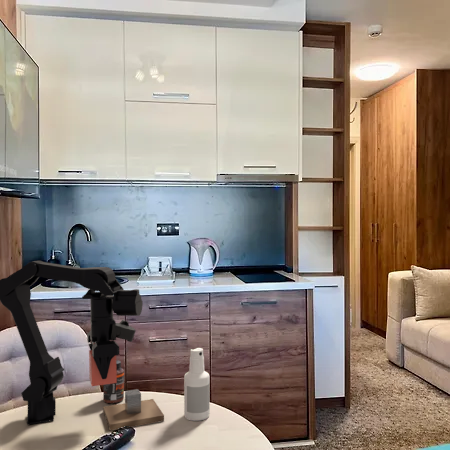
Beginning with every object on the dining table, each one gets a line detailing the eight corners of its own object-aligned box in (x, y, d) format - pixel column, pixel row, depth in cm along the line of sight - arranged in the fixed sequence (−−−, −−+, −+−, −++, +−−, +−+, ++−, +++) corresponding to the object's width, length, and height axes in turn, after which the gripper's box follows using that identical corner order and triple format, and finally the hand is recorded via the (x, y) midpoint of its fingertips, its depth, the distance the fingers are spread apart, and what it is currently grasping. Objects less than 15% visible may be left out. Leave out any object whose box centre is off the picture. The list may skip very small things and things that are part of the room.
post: (127, 414, 117) (127, 395, 117) (125, 409, 120) (125, 391, 120) (141, 412, 118) (141, 393, 118) (138, 407, 121) (138, 389, 121)
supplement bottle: (118, 405, 127) (118, 365, 127) (99, 403, 128) (99, 364, 128) (127, 397, 133) (127, 359, 133) (109, 395, 134) (108, 358, 134)
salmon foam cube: (91, 386, 112) (91, 356, 112) (89, 378, 117) (89, 350, 117) (116, 382, 114) (116, 353, 114) (113, 375, 120) (112, 347, 120)
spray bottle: (194, 423, 114) (194, 354, 115) (179, 415, 120) (179, 349, 120) (214, 416, 119) (214, 349, 119) (199, 408, 124) (199, 344, 124)
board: (109, 430, 111) (109, 424, 111) (103, 412, 122) (103, 406, 122) (164, 420, 116) (164, 415, 116) (153, 404, 127) (153, 398, 127)
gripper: (139, 319, 110) (140, 381, 110) (126, 307, 127) (127, 361, 127) (93, 323, 106) (94, 388, 106) (86, 310, 123) (87, 366, 123)
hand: (102, 375), depth 116 cm, fingers closed on salmon foam cube, 6 cm apart
